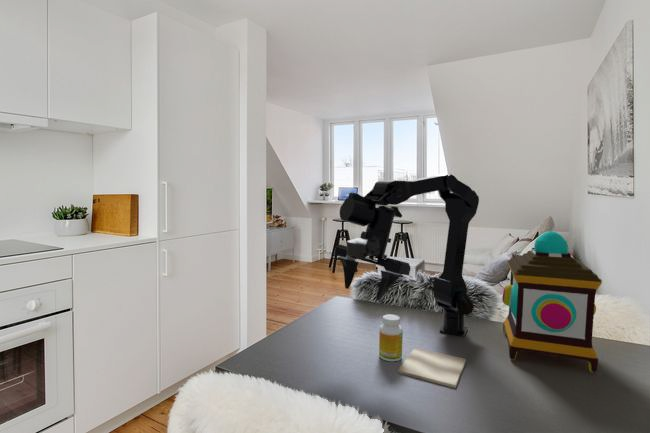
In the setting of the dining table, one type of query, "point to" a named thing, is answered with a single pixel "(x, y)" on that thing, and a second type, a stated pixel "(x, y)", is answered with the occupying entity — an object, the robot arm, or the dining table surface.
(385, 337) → the supplement bottle
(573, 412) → the dining table surface
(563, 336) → the decorative lantern
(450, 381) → the birch mat
